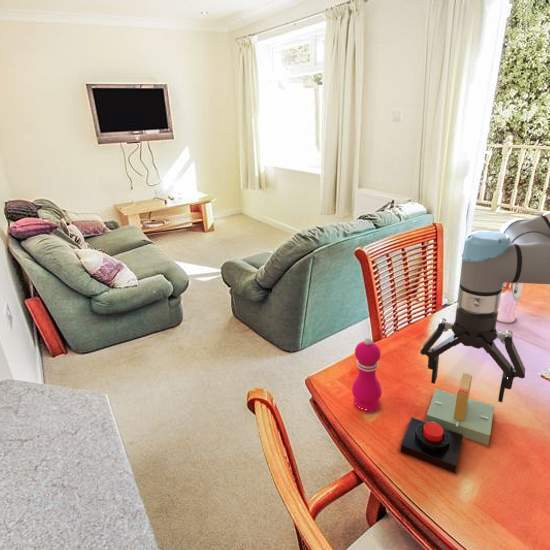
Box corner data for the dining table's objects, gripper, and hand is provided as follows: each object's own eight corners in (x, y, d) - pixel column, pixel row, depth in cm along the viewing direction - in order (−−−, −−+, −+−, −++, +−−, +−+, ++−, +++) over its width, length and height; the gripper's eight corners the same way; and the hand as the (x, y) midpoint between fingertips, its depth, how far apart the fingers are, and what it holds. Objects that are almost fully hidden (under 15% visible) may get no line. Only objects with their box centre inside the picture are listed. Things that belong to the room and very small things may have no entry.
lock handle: (458, 399, 91) (462, 371, 87) (467, 401, 90) (472, 374, 86) (453, 418, 85) (457, 390, 82) (463, 421, 84) (467, 393, 81)
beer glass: (491, 320, 126) (498, 280, 120) (493, 311, 131) (501, 272, 125) (515, 325, 122) (524, 284, 116) (517, 315, 127) (525, 275, 121)
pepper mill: (382, 415, 92) (385, 347, 84) (352, 413, 93) (352, 346, 85) (379, 394, 98) (382, 330, 90) (351, 393, 100) (352, 329, 92)
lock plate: (492, 413, 90) (494, 403, 88) (487, 447, 81) (490, 437, 80) (435, 396, 96) (436, 386, 95) (425, 426, 88) (426, 415, 86)
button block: (461, 441, 83) (464, 428, 81) (455, 473, 76) (457, 459, 75) (410, 424, 89) (412, 411, 87) (400, 452, 82) (401, 438, 80)
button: (444, 431, 81) (445, 425, 81) (440, 445, 78) (441, 439, 78) (425, 425, 84) (425, 419, 83) (421, 438, 80) (421, 432, 80)
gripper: (409, 303, 80) (405, 382, 88) (552, 329, 67) (531, 418, 75) (418, 289, 86) (413, 364, 94) (551, 309, 72) (532, 395, 81)
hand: (465, 388), depth 85 cm, fingers open, 13 cm apart
